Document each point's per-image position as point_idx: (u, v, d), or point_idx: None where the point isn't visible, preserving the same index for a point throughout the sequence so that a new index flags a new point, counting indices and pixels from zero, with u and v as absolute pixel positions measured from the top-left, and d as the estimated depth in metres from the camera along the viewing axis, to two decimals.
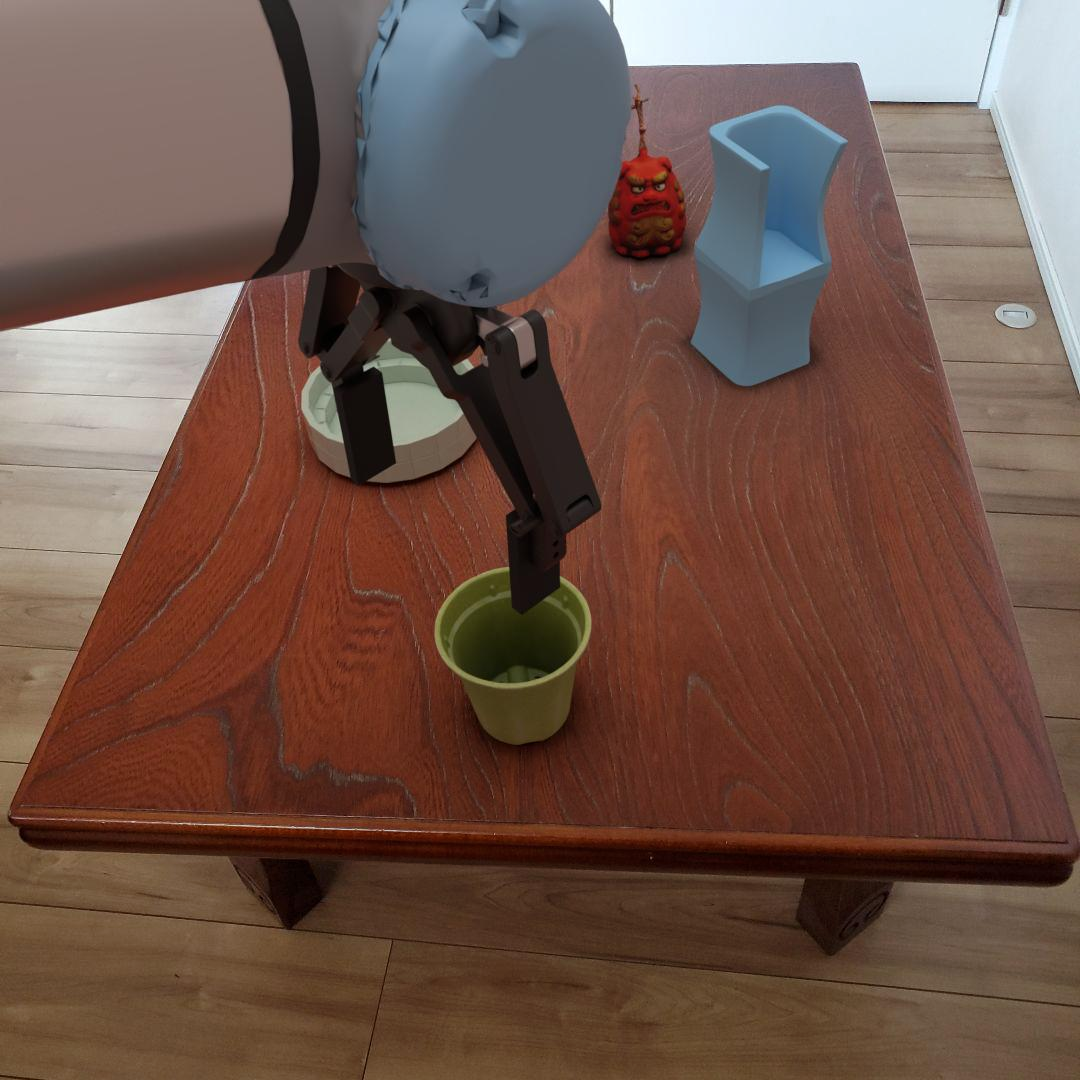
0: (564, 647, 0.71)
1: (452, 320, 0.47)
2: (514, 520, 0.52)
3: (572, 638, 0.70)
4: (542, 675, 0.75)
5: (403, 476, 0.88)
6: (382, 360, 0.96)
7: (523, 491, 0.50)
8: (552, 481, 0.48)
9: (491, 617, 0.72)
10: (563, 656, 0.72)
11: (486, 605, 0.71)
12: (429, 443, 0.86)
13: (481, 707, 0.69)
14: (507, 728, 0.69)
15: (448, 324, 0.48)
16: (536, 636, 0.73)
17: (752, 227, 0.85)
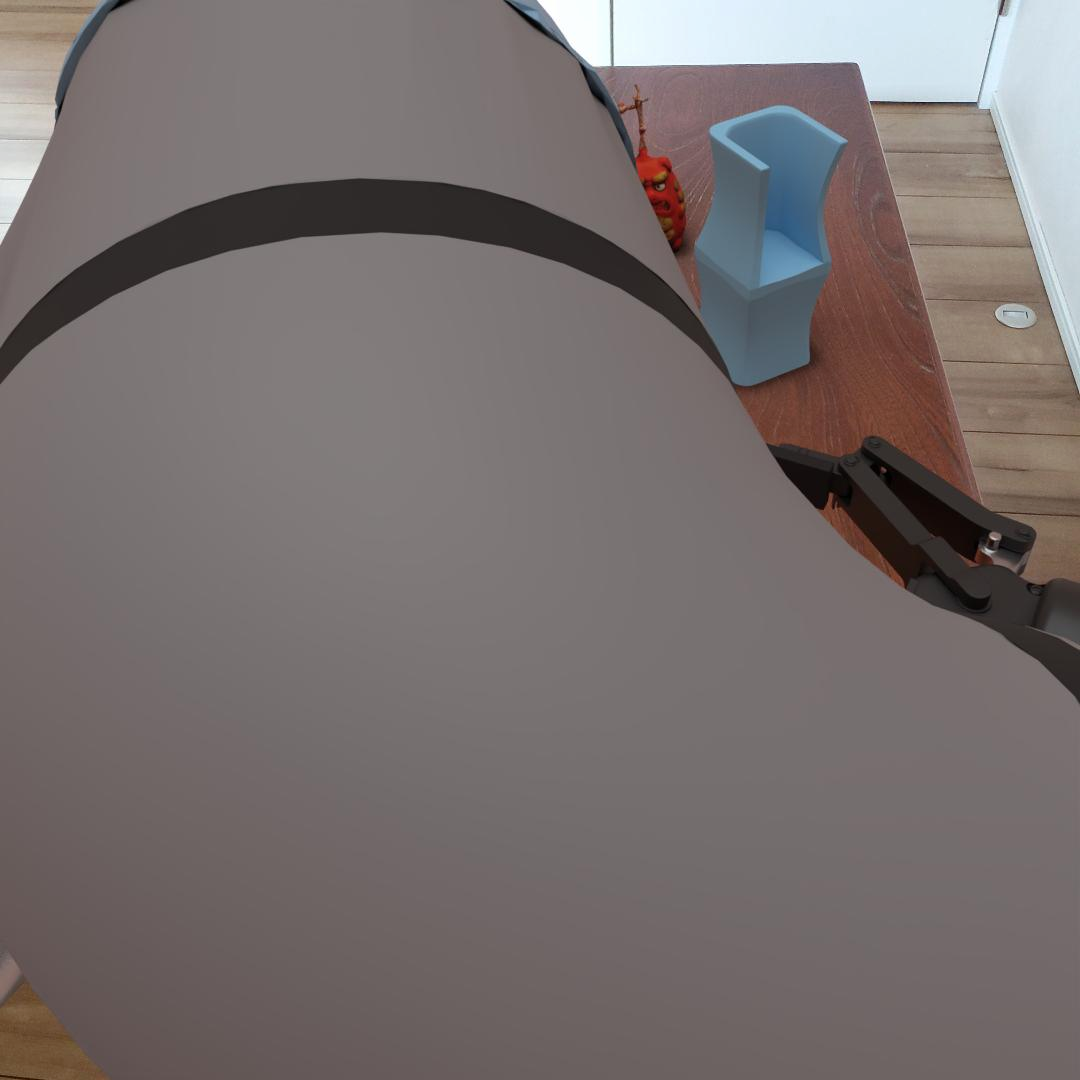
0: None
1: None
2: None
3: None
4: None
5: None
6: None
7: None
8: None
9: None
10: None
11: None
12: None
13: None
14: None
15: None
16: None
17: (752, 227, 0.85)
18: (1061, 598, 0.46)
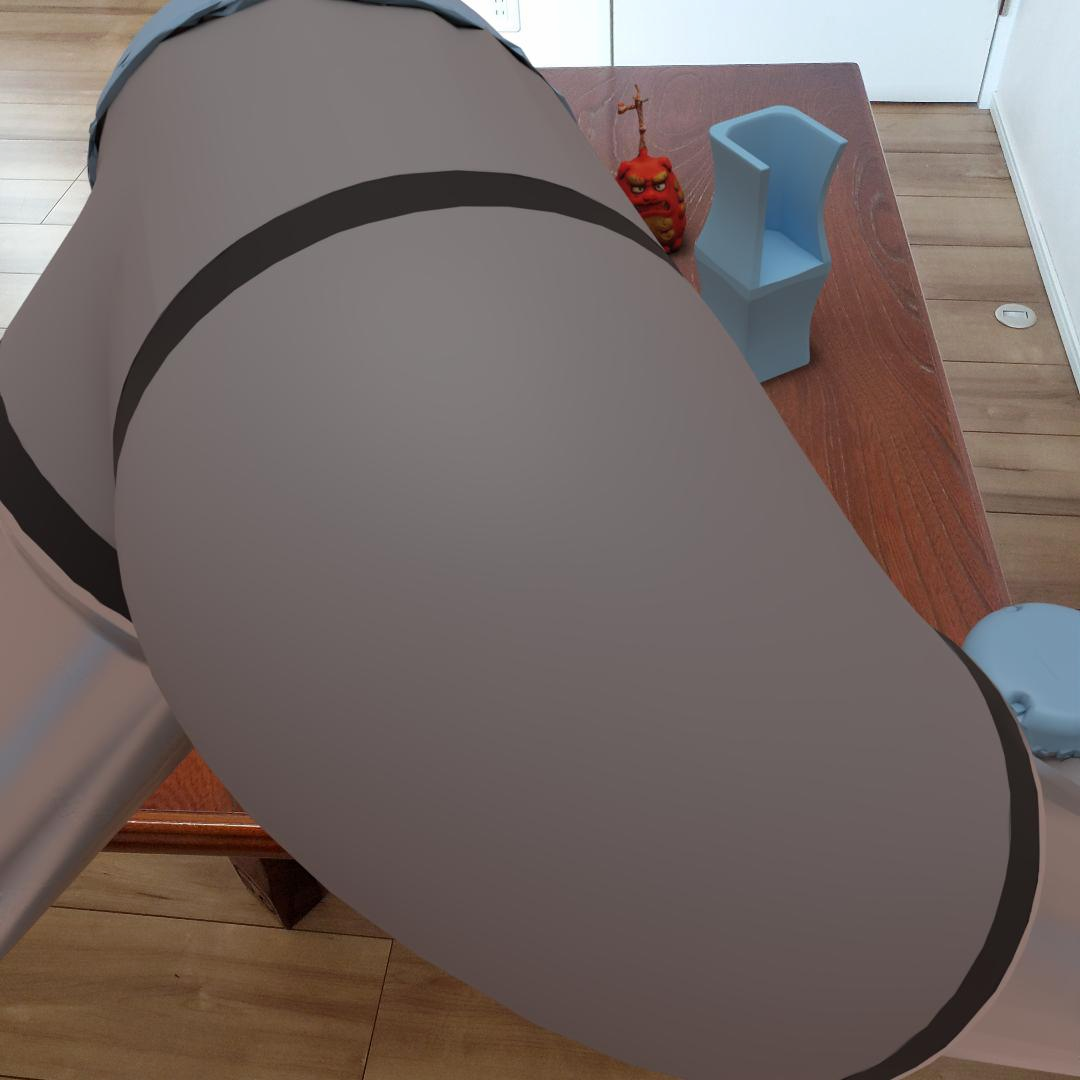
0: None
1: None
2: None
3: None
4: None
5: None
6: None
7: None
8: None
9: None
10: None
11: None
12: None
13: None
14: None
15: None
16: None
17: (752, 227, 0.85)
18: None
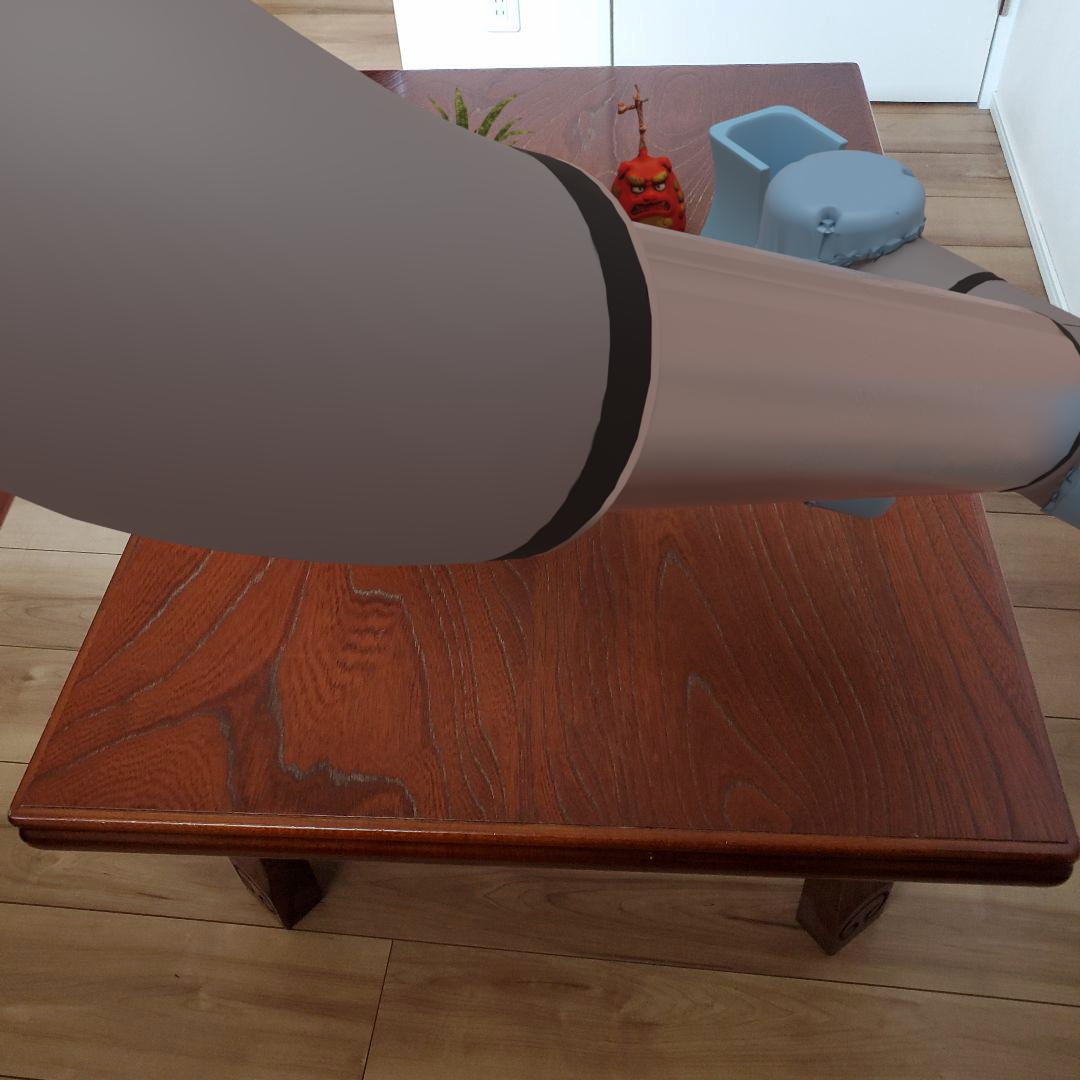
0: None
1: None
2: None
3: None
4: None
5: None
6: None
7: None
8: None
9: None
10: None
11: None
12: None
13: None
14: None
15: None
16: None
17: (752, 227, 0.85)
18: None
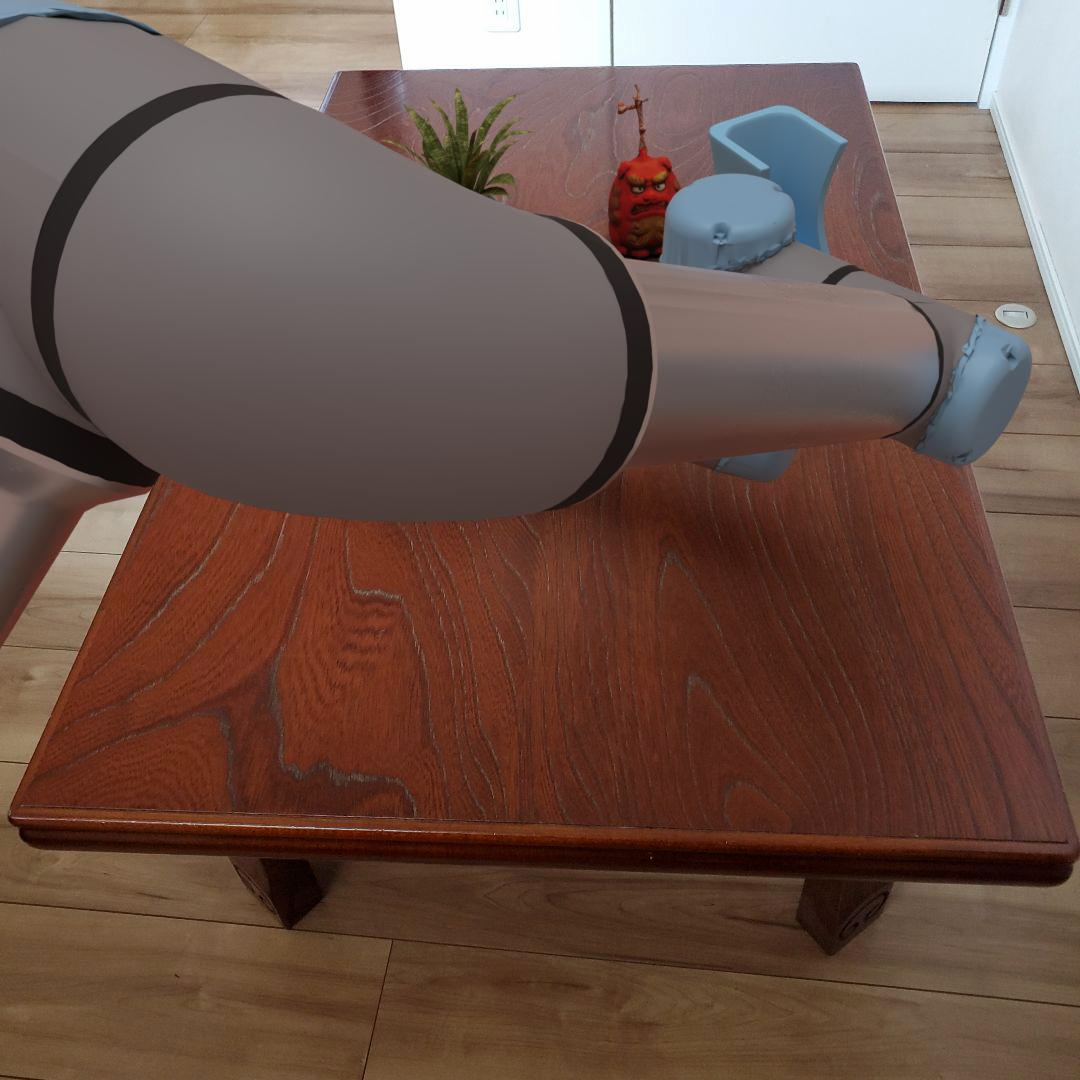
0: None
1: None
2: None
3: None
4: None
5: None
6: None
7: None
8: None
9: None
10: None
11: None
12: None
13: None
14: None
15: None
16: None
17: None
18: None
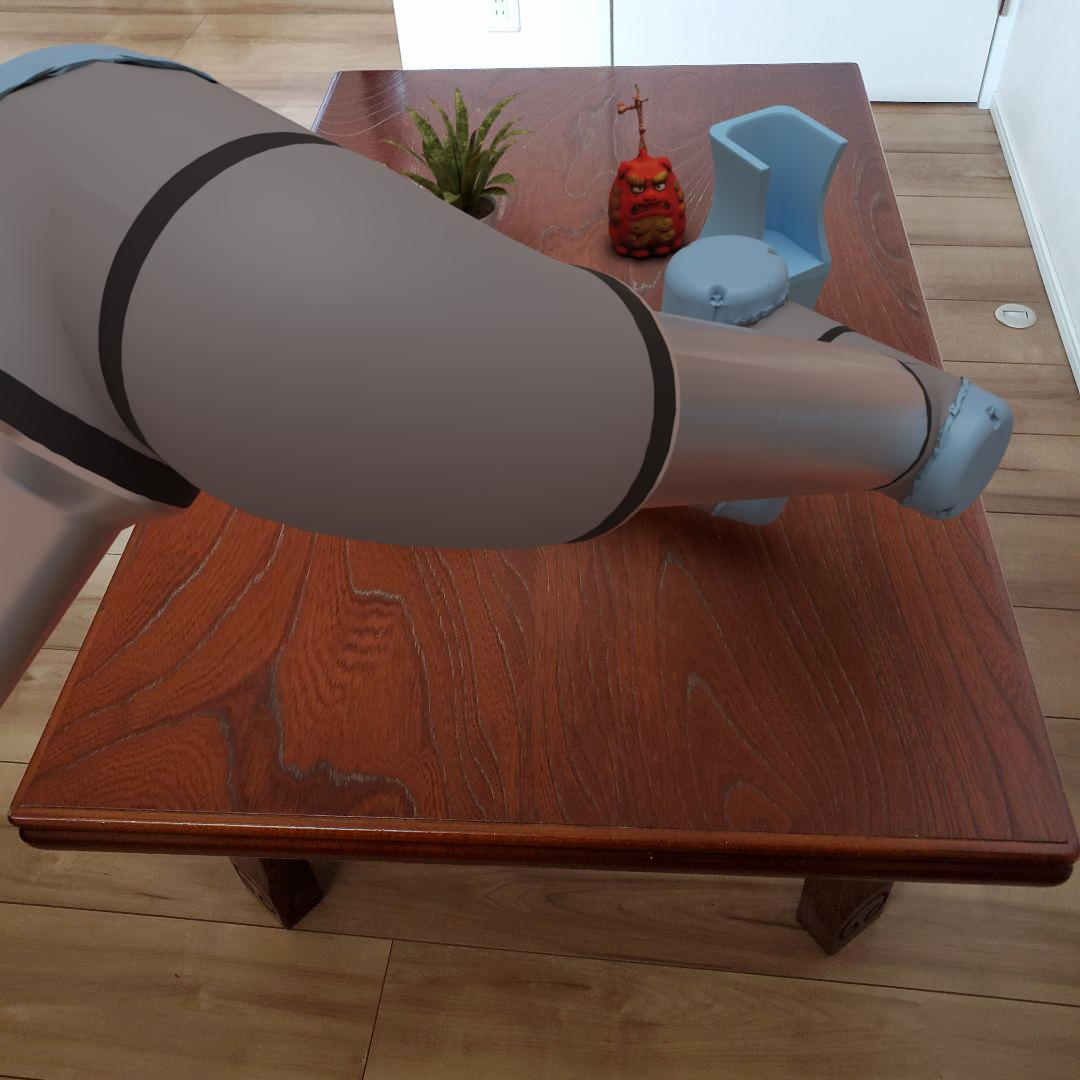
0: None
1: None
2: None
3: None
4: None
5: None
6: None
7: None
8: None
9: None
10: None
11: None
12: None
13: None
14: None
15: None
16: None
17: (752, 227, 0.85)
18: None
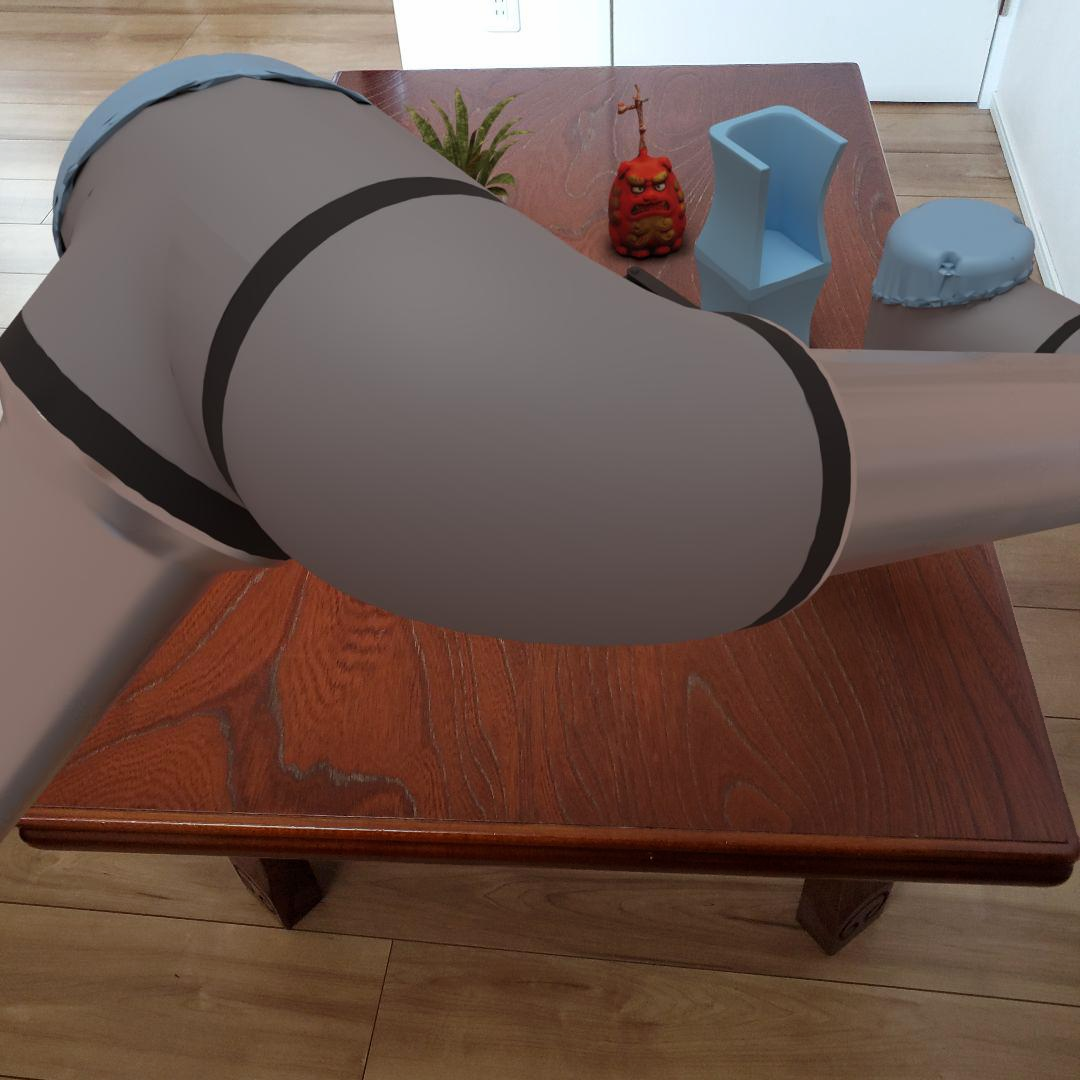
0: None
1: None
2: None
3: None
4: None
5: None
6: None
7: None
8: None
9: None
10: None
11: None
12: None
13: None
14: None
15: None
16: None
17: (752, 227, 0.85)
18: None
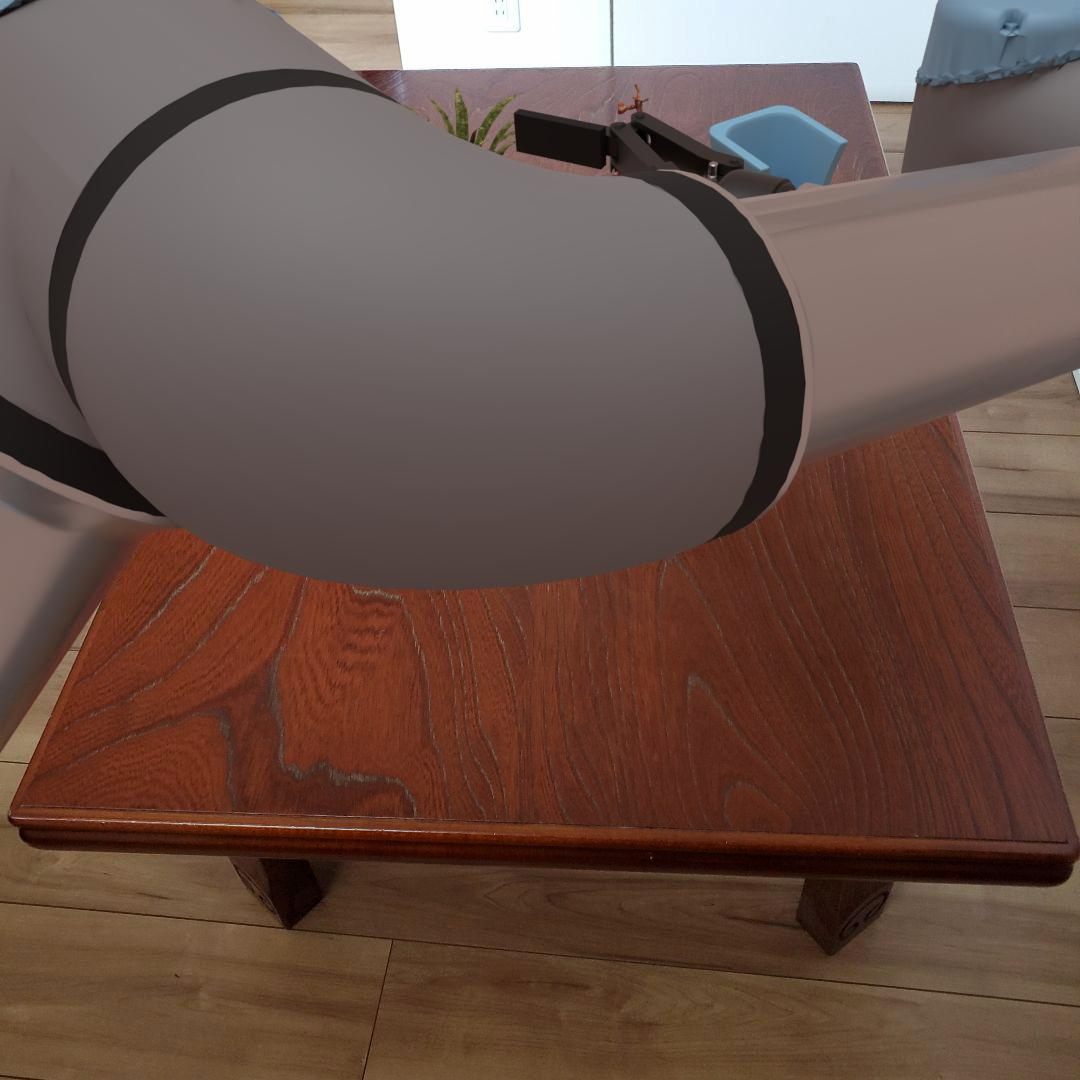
0: None
1: None
2: None
3: None
4: None
5: None
6: None
7: None
8: None
9: None
10: None
11: None
12: None
13: None
14: None
15: None
16: None
17: None
18: (734, 173, 0.63)
